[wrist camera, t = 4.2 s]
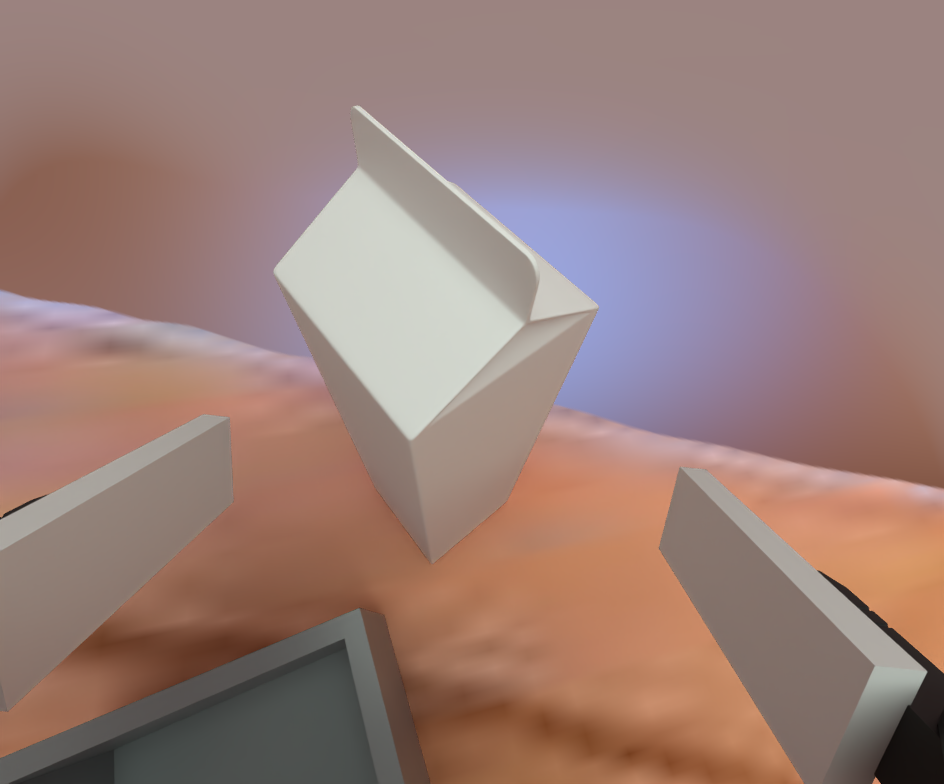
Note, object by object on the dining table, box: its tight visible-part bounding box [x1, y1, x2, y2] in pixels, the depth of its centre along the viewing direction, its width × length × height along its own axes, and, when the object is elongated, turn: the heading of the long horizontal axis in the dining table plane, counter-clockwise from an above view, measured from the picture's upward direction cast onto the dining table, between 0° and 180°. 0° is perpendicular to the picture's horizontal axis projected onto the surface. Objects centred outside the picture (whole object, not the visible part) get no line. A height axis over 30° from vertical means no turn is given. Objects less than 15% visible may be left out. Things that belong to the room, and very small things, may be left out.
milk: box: [274, 106, 599, 564], centre depth 18 cm, size 6×6×22 cm
